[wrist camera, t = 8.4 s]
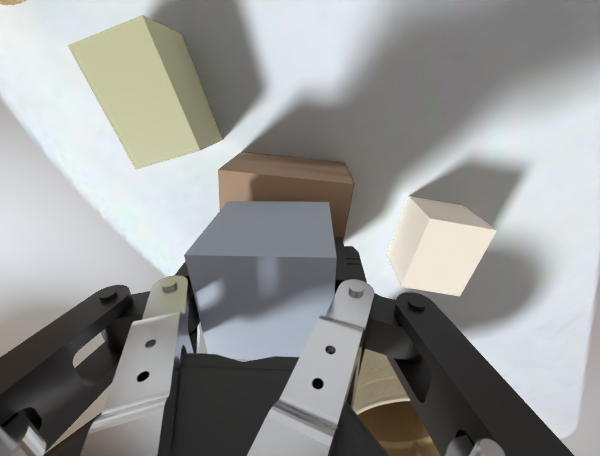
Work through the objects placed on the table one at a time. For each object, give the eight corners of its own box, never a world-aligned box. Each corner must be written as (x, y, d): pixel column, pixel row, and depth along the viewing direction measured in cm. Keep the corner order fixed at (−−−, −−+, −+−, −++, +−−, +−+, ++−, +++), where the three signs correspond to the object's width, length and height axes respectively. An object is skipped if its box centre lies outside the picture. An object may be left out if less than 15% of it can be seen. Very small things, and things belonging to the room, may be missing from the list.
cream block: (408, 195, 19) (430, 218, 15) (462, 204, 19) (497, 230, 15) (386, 254, 21) (400, 286, 17) (435, 262, 21) (459, 296, 18)
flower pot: (315, 308, 24) (316, 411, 16) (425, 286, 22) (484, 389, 14) (340, 375, 28) (350, 484, 20) (435, 360, 26) (486, 473, 18)
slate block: (228, 201, 13) (184, 255, 9) (329, 201, 13) (336, 257, 9) (239, 281, 15) (209, 357, 11) (325, 283, 15) (330, 362, 11)
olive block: (123, 56, 16) (67, 45, 12) (182, 34, 15) (142, 15, 12) (170, 155, 18) (135, 169, 15) (223, 139, 18) (200, 150, 14)
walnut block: (242, 151, 18) (217, 169, 14) (344, 162, 18) (354, 184, 14) (242, 240, 21) (222, 279, 17) (329, 250, 21) (333, 291, 17)
